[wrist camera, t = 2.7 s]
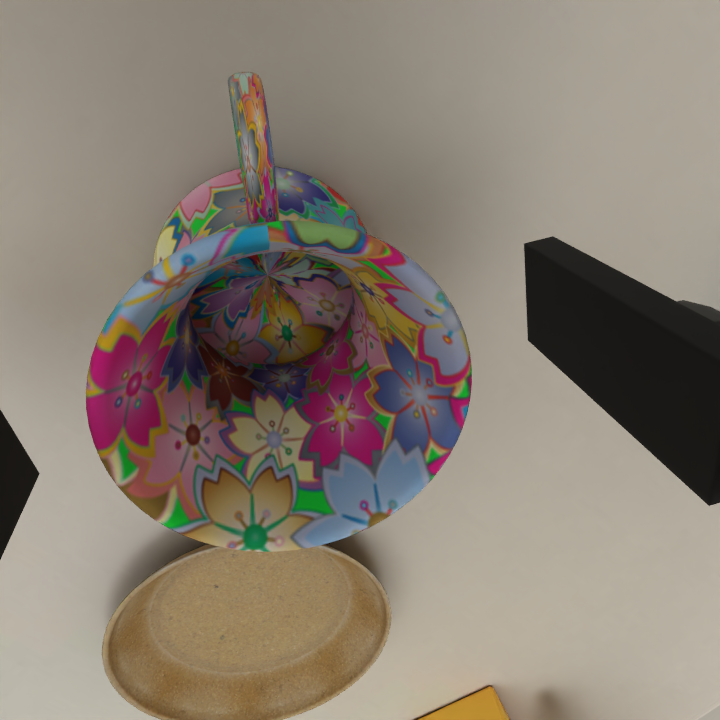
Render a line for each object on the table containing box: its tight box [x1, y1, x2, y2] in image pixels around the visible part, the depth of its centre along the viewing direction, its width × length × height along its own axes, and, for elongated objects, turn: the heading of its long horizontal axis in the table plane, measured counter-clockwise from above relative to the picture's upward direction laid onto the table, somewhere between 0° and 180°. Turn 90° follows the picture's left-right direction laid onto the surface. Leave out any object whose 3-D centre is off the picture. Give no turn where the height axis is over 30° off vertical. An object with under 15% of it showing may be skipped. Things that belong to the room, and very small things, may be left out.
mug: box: [86, 72, 472, 552], centre depth 18 cm, size 12×9×11 cm
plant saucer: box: [102, 544, 391, 720], centre depth 30 cm, size 15×15×3 cm
